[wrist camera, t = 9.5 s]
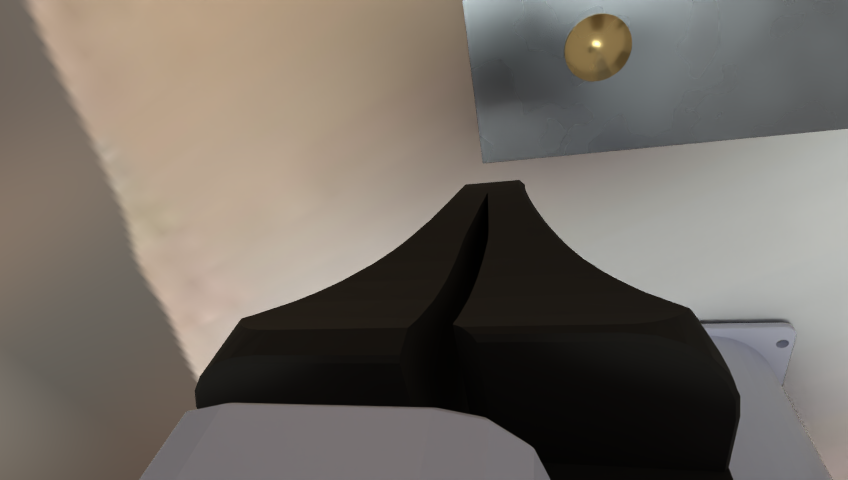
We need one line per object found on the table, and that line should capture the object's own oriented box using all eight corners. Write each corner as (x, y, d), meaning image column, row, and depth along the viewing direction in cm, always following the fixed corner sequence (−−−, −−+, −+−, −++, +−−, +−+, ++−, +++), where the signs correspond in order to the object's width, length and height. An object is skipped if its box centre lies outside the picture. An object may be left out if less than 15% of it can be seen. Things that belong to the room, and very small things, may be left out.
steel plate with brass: (1110, 66, 16) (1221, 94, 13) (488, 134, 21) (482, 164, 18) (1259, -221, 12) (1451, -257, 10) (465, -59, 17) (455, -54, 15)
